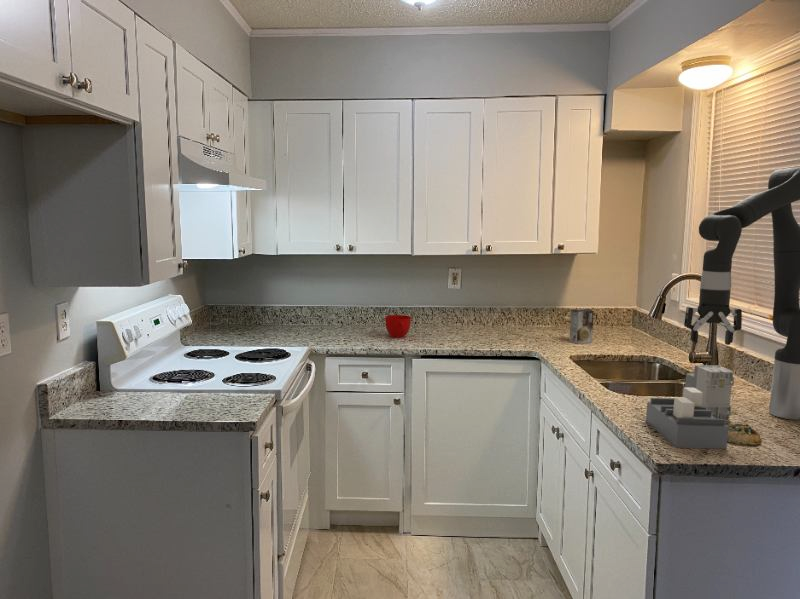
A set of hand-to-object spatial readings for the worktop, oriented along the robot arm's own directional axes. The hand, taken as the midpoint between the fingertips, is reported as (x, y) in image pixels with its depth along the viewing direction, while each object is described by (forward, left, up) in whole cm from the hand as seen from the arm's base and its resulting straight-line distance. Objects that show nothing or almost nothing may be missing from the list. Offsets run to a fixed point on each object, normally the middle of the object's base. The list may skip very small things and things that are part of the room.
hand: (710, 343), depth 162 cm
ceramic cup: (+93, -118, -25) cm, 152 cm away
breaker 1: (+5, +2, -18) cm, 19 cm away
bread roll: (-5, +9, -25) cm, 27 cm away
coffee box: (+3, -117, -25) cm, 119 cm away
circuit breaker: (-6, -12, -25) cm, 28 cm away
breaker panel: (+9, +7, -24) cm, 27 cm away
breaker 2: (+12, +12, -18) cm, 25 cm away
